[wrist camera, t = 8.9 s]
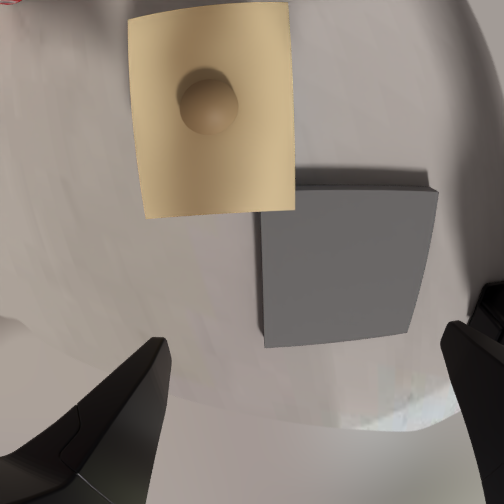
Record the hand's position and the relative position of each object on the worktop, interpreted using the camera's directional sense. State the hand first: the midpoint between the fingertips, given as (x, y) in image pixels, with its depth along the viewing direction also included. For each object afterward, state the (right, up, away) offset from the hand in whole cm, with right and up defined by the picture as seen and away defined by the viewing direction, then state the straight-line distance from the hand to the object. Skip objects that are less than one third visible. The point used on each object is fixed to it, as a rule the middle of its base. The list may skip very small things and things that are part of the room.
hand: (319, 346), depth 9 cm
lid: (-4, +9, +4) cm, 11 cm away
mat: (+5, +2, +13) cm, 14 cm away
